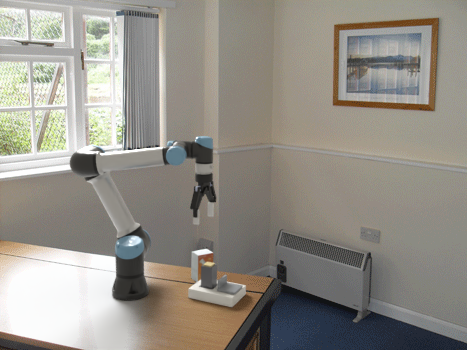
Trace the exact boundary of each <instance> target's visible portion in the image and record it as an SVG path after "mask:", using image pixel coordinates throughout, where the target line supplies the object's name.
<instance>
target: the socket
mask: <svg viewBox="0 0 467 350" xmlns="http://www.w3.org/2000/svg"><path fill="white" fill-rule="evenodd" d="M218 280H219V279H217V286H216V287H215V288H214V289H207V288H203V287H201V280H199V281H198V282H195V283H194V284H193V285H191V286H190V287H189V288H187V289H188V294H187V298H188V299H193V300H197V301H202V302H206V303H210V304H211V303H212V304H216V305H220V306H225V307H229V308H233V307H234V306H235V305H236V304H237V303H238V302H240V301H241V299H242V298H243V297H244V296H245V295H246V293H247V291H246V290H247V285H245V284H240V283H237V282H236V283H235V282H230V281H227V282H228V283H233V284H238V285H243V287H242V288H241V289H240V290H239V291H238V292H237V293H236V294H231V293H226V292H221V291H217V288H218Z"/></svg>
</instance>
